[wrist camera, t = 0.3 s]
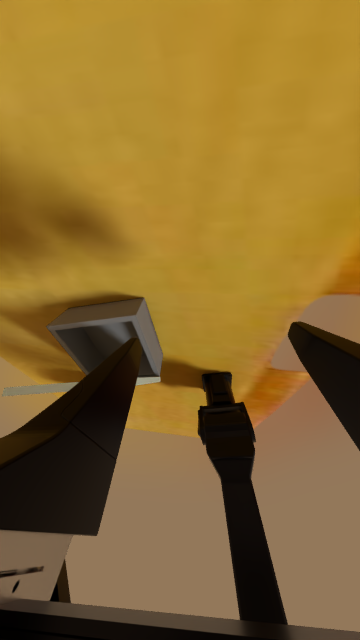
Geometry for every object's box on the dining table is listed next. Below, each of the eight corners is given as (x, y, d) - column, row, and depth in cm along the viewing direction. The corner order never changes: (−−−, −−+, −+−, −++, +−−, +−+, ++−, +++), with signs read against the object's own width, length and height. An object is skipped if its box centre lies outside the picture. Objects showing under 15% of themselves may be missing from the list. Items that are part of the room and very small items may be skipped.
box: (163, 354, 31) (159, 376, 27) (103, 360, 32) (91, 381, 28) (144, 297, 23) (135, 315, 19) (68, 308, 25) (45, 326, 21)
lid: (160, 376, 27) (160, 381, 26) (91, 382, 28) (90, 386, 28) (123, 378, 14) (122, 387, 14) (4, 387, 16) (1, 396, 16)
